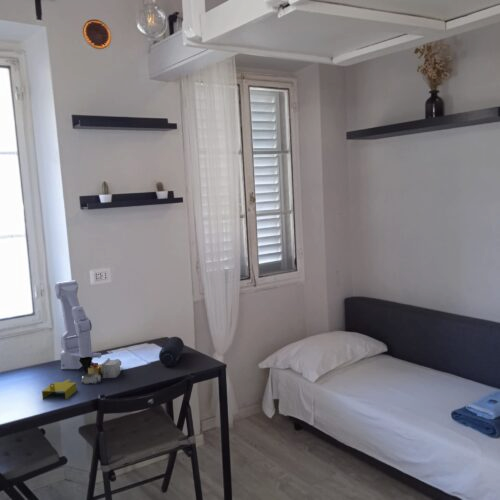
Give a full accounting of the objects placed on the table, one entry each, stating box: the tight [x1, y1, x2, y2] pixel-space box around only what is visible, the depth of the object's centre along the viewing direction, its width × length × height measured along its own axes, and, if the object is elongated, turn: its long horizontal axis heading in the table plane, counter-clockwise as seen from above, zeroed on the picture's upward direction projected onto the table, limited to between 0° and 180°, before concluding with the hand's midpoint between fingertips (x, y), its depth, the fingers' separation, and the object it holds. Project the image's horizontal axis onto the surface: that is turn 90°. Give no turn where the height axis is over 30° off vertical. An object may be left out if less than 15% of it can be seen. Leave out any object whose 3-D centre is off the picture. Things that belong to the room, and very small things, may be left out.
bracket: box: [41, 378, 78, 400], centre depth 232 cm, size 16×8×15 cm
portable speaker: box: [158, 336, 185, 367], centre depth 270 cm, size 25×10×10 cm, turn 179°
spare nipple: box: [81, 373, 102, 385], centre depth 244 cm, size 8×3×3 cm, turn 89°
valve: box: [87, 362, 102, 376], centre depth 253 cm, size 9×5×6 cm, turn 84°
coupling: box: [101, 358, 122, 379], centre depth 255 cm, size 6×14×7 cm, turn 175°
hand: (87, 372), depth 254 cm, fingers closed
